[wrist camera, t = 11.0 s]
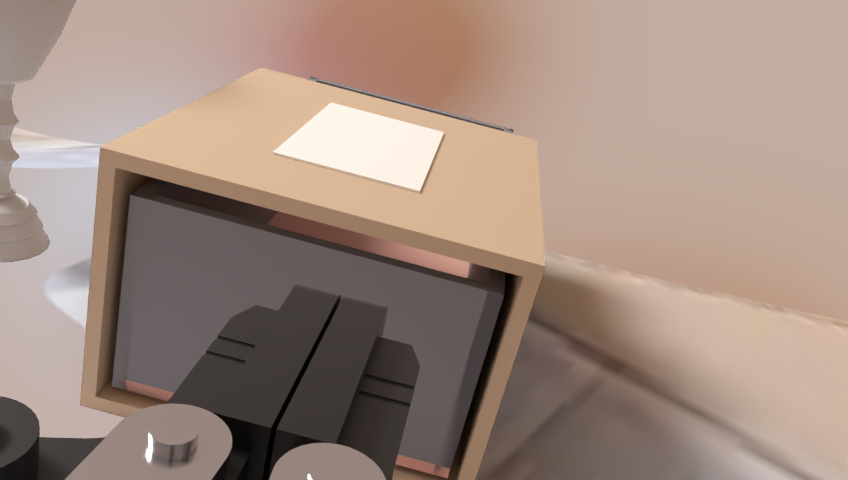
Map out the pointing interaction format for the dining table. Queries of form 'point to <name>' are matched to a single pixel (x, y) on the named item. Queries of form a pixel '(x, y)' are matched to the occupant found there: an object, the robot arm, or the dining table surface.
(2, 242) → the chalice
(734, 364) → the dining table surface
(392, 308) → the tray
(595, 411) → the dining table surface
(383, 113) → the mailer sleeve
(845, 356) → the dining table surface
